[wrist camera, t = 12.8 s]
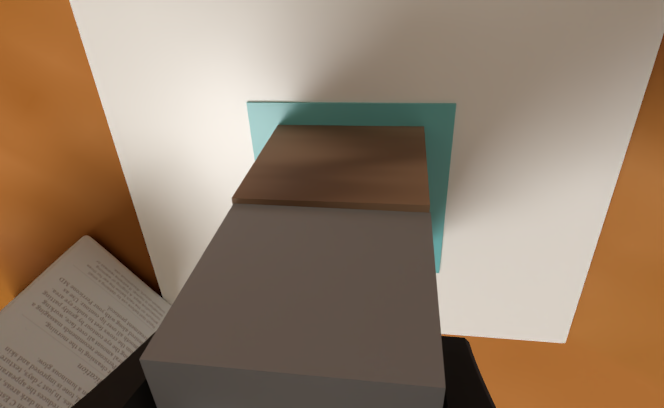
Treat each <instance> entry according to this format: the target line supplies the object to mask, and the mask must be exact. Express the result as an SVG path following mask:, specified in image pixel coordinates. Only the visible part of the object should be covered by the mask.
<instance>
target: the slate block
mask: <svg viewBox="0 0 664 408" xmlns="http://www.w3.org/2000/svg"><path fill="white" fill-rule="evenodd" d="M139 360H140V363H141V366H142V369H143V371H144V374H145V377H146V379H147V382H148V385H149V387H150V390H151V393H152V395H153V398H154V401H155V403H156V406H157V408H443V403H444V396H445V389H446V386H445V374H444V363H443V351H442V339H441V327H440V316H439V304H438V292H437V280H436V269H435V257H434V245H433V234H432V222H431V212H430V213H425V212H404V211H383V210H362V209H340V208H319V207H298V206H277V205H256V204H235V203H233V205H232V207H231V208H230V210H229V212H228V213H227V215H226V217H225V218H224V220H223V222H222V223H221V225H220V227H219V228H218V230H217V232H216V233H215V235H214V237H213V238H212V240H211V241H210V243H209V245H208V246H207V248H206V250H205V251H204V253H203V255H202V256H201V258H200V260H199V261H198V263H197V265H196V266H195V268H194V270H193V271H192V273H191V275H190V276H189V278H188V279H187V281H186V283H185V284H184V286H183V288H182V289H181V291H180V293H179V294H178V296H177V298H176V299H175V301H174V303H173V304H172V306H171V308H170V309H169V311H168V313H167V314H166V316H165V317H164V319H163V321H162V322H161V324H160V326H159V327H158V329H157V331H156V332H155V334H154V336H153V337H152V339H151V341H150V342H149V344H148V346H147V347H146V349H145V351H144V352H143V354H142V355H141V357H140V359H139Z"/></svg>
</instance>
